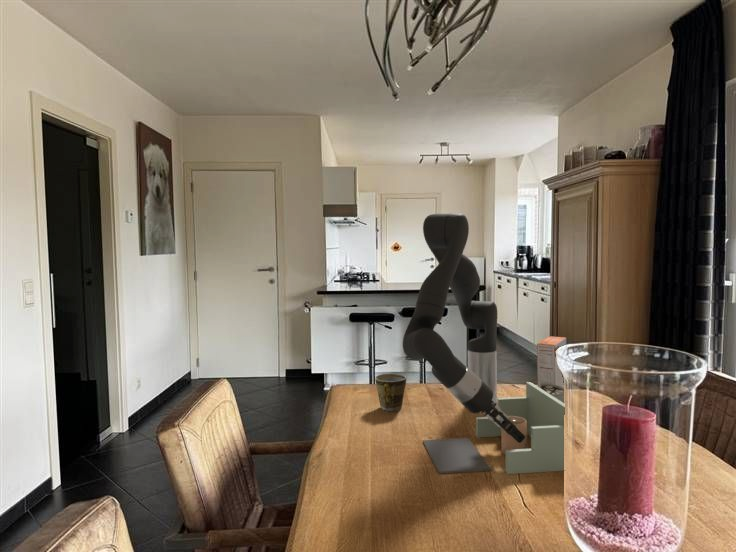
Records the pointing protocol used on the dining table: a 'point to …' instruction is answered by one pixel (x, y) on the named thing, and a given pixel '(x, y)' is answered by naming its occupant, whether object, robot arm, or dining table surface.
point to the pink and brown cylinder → (508, 440)
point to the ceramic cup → (390, 391)
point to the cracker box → (549, 361)
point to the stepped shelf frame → (532, 431)
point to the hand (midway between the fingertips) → (516, 434)
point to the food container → (554, 391)
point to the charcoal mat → (455, 456)
